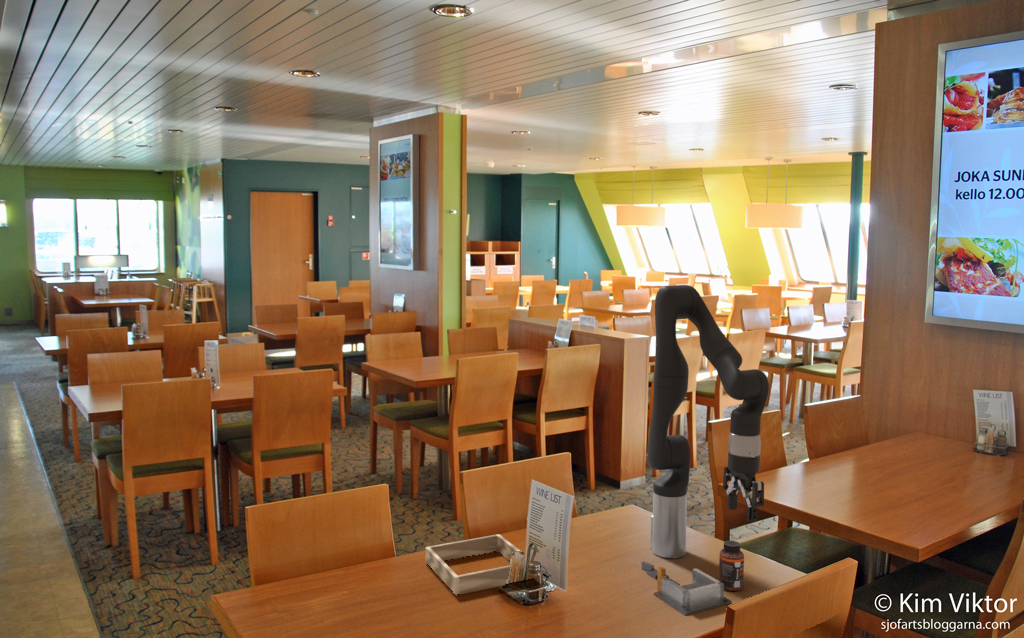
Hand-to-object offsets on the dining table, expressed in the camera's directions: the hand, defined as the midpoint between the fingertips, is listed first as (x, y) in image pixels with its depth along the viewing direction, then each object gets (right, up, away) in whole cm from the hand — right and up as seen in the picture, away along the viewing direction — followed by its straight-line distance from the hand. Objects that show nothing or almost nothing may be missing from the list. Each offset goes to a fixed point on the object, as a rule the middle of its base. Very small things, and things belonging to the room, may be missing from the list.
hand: (741, 515), depth 186 cm
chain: (-19, -19, +9) cm, 28 cm away
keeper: (-13, -20, -2) cm, 24 cm away
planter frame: (-65, -18, +14) cm, 69 cm away
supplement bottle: (-1, -19, +4) cm, 20 cm away
